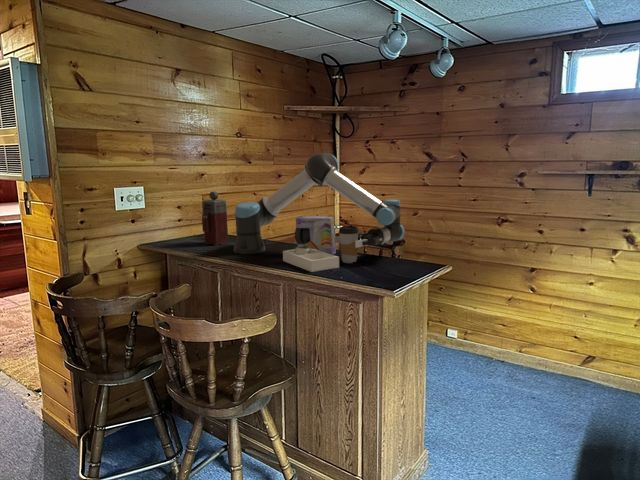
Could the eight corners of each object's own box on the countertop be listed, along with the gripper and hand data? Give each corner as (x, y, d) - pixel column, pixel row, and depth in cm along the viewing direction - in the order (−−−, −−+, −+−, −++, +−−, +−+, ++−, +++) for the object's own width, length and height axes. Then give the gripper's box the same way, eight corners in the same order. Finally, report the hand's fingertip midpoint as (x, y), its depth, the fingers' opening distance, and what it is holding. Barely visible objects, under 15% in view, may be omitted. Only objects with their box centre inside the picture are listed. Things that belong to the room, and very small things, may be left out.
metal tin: (292, 259, 210) (292, 247, 209) (306, 257, 213) (305, 246, 212) (300, 261, 204) (299, 250, 203) (314, 259, 207) (313, 248, 206)
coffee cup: (349, 258, 212) (349, 225, 210) (362, 261, 206) (362, 227, 203) (335, 261, 207) (334, 227, 204) (348, 264, 201) (348, 229, 198)
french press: (201, 245, 253) (197, 192, 248) (216, 241, 263) (213, 190, 258) (214, 246, 249) (210, 192, 244) (228, 242, 258) (225, 190, 253)
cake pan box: (294, 253, 226) (293, 216, 223) (299, 251, 231) (298, 215, 228) (332, 256, 218) (331, 217, 215) (336, 254, 223) (335, 216, 220)
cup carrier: (283, 260, 211) (282, 250, 210) (308, 257, 217) (308, 247, 217) (311, 272, 190) (311, 260, 189) (339, 267, 196) (339, 256, 195)
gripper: (399, 247, 208) (366, 255, 195) (358, 240, 227) (325, 247, 213) (399, 230, 207) (366, 237, 193) (358, 225, 226) (324, 230, 212)
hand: (344, 242), depth 203 cm, fingers open, 13 cm apart
